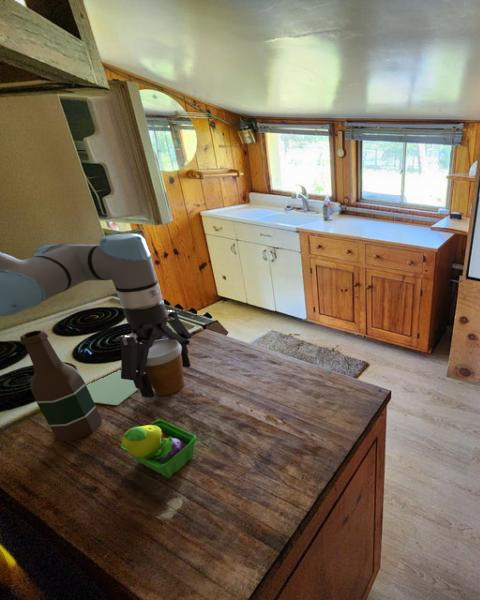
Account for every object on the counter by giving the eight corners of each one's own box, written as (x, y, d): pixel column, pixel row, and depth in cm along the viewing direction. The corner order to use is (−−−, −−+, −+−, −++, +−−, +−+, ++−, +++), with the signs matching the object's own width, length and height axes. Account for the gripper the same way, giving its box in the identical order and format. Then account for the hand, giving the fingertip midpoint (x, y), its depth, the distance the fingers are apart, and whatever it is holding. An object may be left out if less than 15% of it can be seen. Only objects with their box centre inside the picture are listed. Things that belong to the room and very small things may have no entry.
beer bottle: (112, 420, 73) (71, 327, 63) (72, 447, 66) (19, 348, 56) (86, 412, 75) (43, 320, 65) (45, 437, 68) (-11, 340, 58)
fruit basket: (203, 454, 66) (191, 412, 61) (160, 492, 59) (142, 448, 54) (165, 436, 70) (150, 395, 65) (119, 469, 62) (99, 426, 57)
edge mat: (65, 398, 78) (64, 398, 78) (117, 364, 91) (117, 364, 91) (117, 405, 77) (117, 405, 77) (163, 370, 90) (163, 369, 90)
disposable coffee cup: (139, 401, 78) (124, 360, 73) (158, 377, 87) (145, 338, 82) (183, 397, 80) (171, 357, 75) (197, 374, 89) (187, 336, 84)
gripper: (109, 330, 62) (142, 416, 72) (195, 285, 84) (212, 355, 93) (74, 327, 63) (111, 412, 72) (168, 282, 85) (187, 352, 94)
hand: (168, 380), depth 83 cm, fingers open, 11 cm apart
